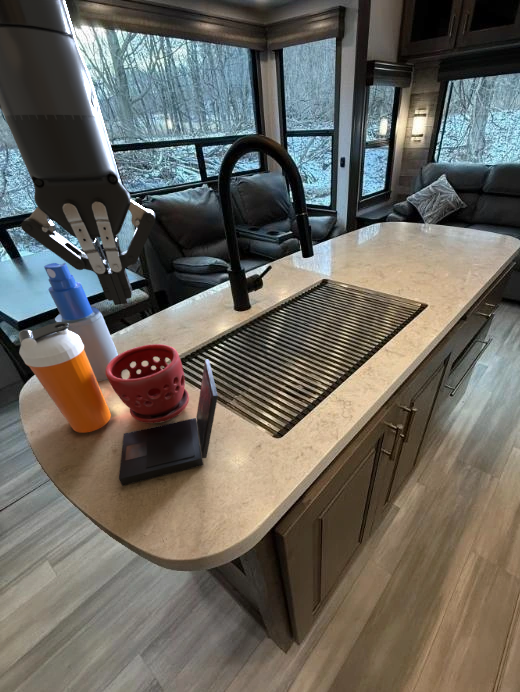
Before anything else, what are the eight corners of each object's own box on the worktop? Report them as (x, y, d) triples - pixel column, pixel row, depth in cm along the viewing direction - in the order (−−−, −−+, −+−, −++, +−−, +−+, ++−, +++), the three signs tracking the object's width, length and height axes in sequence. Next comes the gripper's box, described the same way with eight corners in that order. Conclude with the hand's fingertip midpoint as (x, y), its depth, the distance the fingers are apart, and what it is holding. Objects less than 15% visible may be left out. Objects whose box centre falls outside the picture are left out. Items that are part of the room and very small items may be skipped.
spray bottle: (108, 382, 77) (58, 272, 61) (74, 379, 78) (16, 270, 62) (130, 362, 83) (89, 258, 68) (98, 359, 85) (51, 257, 69)
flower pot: (169, 383, 76) (155, 336, 69) (205, 406, 70) (192, 357, 62) (114, 411, 68) (90, 362, 61) (147, 440, 62) (126, 389, 54)
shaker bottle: (123, 419, 66) (81, 328, 54) (76, 443, 61) (17, 349, 49) (105, 401, 71) (62, 313, 59) (60, 421, 66) (2, 330, 54)
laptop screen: (212, 395, 49) (217, 395, 49) (204, 359, 57) (209, 359, 58) (201, 458, 56) (206, 458, 56) (195, 417, 64) (200, 417, 64)
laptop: (122, 486, 54) (118, 478, 53) (126, 440, 62) (123, 433, 61) (203, 465, 57) (201, 458, 56) (197, 424, 65) (195, 417, 64)
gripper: (136, 114, 34) (177, 285, 44) (-18, 114, 30) (67, 298, 41) (132, 110, 28) (180, 306, 39) (-57, 109, 25) (53, 323, 36)
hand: (121, 302), depth 40 cm, fingers closed
